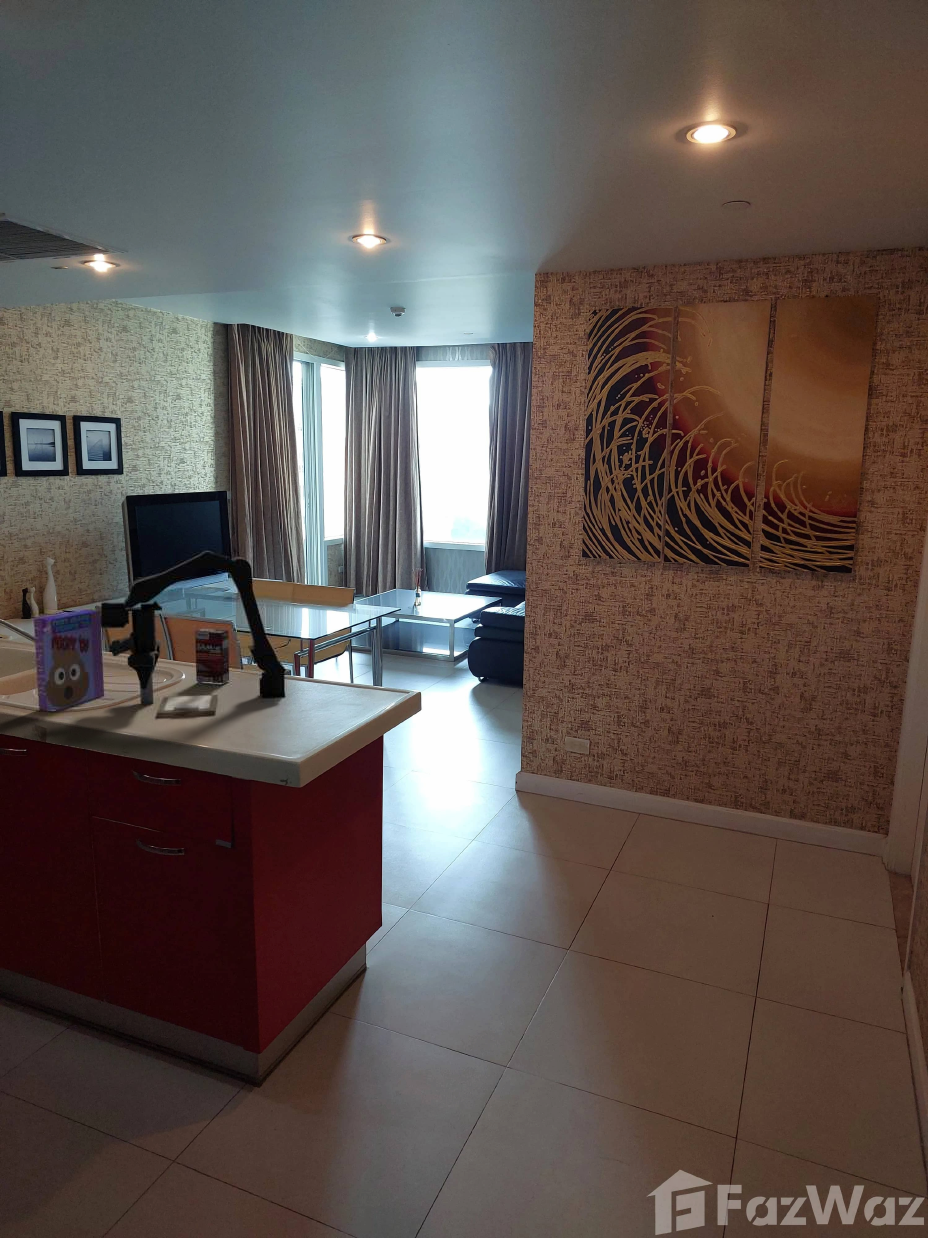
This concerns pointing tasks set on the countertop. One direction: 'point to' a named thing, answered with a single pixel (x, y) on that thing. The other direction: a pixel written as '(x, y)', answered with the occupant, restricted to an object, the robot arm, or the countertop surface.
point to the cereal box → (69, 659)
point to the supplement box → (212, 655)
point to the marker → (147, 693)
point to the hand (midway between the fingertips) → (145, 684)
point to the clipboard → (187, 706)
